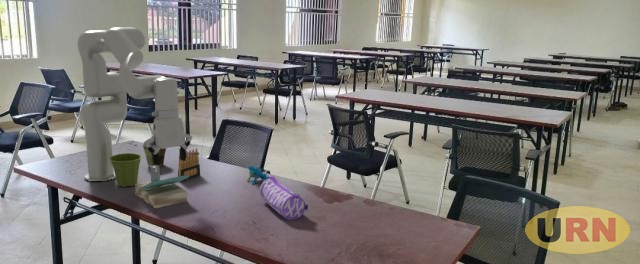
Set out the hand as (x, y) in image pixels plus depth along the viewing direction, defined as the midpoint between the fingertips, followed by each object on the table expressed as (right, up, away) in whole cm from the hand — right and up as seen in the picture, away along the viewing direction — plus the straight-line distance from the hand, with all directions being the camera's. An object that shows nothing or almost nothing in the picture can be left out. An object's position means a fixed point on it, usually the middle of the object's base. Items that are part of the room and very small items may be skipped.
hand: (169, 162), depth 184 cm
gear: (+27, -10, +30) cm, 42 cm away
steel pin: (-9, -12, +13) cm, 20 cm away
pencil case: (+39, -17, +1) cm, 43 cm away
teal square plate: (-3, -8, +5) cm, 10 cm away
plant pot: (-23, -10, +24) cm, 35 cm away
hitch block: (-6, -14, +10) cm, 18 cm away
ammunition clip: (-1, -9, +33) cm, 34 cm away
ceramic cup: (-20, -5, +49) cm, 53 cm away
